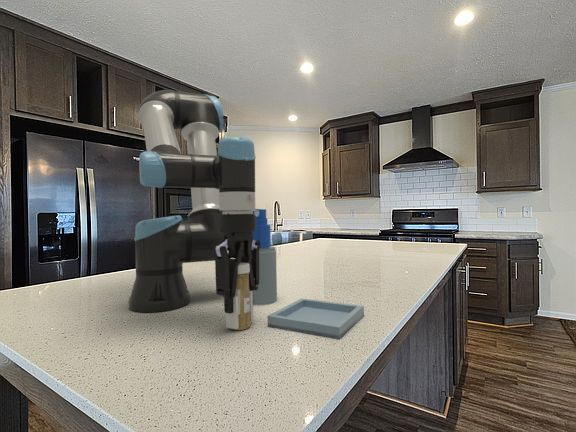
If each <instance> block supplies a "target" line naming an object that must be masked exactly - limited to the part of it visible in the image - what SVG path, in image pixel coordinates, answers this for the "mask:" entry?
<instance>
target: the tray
mask: <svg viewBox="0 0 576 432" xmlns="http://www.w3.org/2000/svg"><path fill="white" fill-rule="evenodd" d="M364 316H365V307H364V305H359V304H350V303H344V302H343V303H342V302H335V301H334V302H333V301H327V300H326V301H325V300H318V299H310V298H309V299H308V298H304V297H303V298H299V299H297V300H296V301H294V302H291V303H289V304H287V305H285V306H283V307H282V308H280V309H279V310H276V311H274V312H272V313H270V314H268V315H267V316H266V318H267V327H269V328H275V329H280V330H281V329H282V330H286V331H293V332H298V333H302V334H303V333H304V334H309V335H315V336H319V337H325V338H326V337H327V338H333V339H337V340H340V339H341V338H343V336H344V335H345V334H347V333H348V331H349V330H351V328H353V327H354V326H355V325H356V324H357V323H358V322H359V321H360V320H361V319H363V317H364Z"/></svg>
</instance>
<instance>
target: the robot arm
mask: <svg viewBox="0 0 576 432" xmlns="http://www.w3.org/2000/svg"><path fill="white" fill-rule="evenodd" d="M137 117H138V121H139V123H140V125H141V127H142V128H143V132H144V139H145V140H144V141H145V147H146V151H143V152H140V154H139V156H138V158H139V160H138V163H139V166H138V167H139V182H140V185H142V186H144V187H153V188H158V189H162V188H190V192H191V205H192V207H191V208H192V210H191V211H190V212H189V213H188V215H187V220H183V218H182V216H181V215H171V216H163V217H156V218H151V219H145V220H140V221H138V222H137V223H136V225H135V229H134V231H135V233H134V238H133V239H134V241H135V278H134V280H135V281H134V282H133V286H132V289H131V293H130V296H129V298H128V299H129V300H128V308H129V310H130V311H134V312H138V313H139V312H140V313H150V312H151V313H156V312H167V311H171V310H176V309H179V308H183V307H184V306H187V305H188V304H190V302H191V296H190V295H191V293H190V291H189V289H188V286H187V283H186V279H185V277H184V272H183V265H184V264H187V263H201V262H214V268H215V270H214V271H215V294H216V295H217V296H221V297H223V305H224V307H223V308H224V309H223V310H224V313H225V329H230V330H233V329H238V328H239V322H238V296H235V292H236V284H237V275H238V265H239V263H240V262H243V263H249V265H250V272H249V292H250V323H252V322H254V305H253V290H257V289H258V286H256V285H259V250H260V245H261V243H260V241H255V240H253V237H252V232H254V231H255V230H256V216H255V214H253V211H255V210H256V209H257V208H256V159H257V158H256V153H255V143H254V141H253V140H251V139H250V138H246V137H239V136H237V137H235V136H231V137H224V138H222V139H220V140H219V141H218V149H217V145H216V139H217V138H218V137H219V135H220V133H221V132H222V131H223V128H224V123H225V122H224V110H223V106H222V103H221V100H219V98H217V97H216V96H215V95H209V94H206V93H202V94H200V93H193V92H185V91H181V90H180V91H179V90H173V89H163V90H158V91H154V92H152V93H150V94H148V95H147V96H146V97H144V99H143V100H142V101H141V102H140V103H139V106H138V109H137ZM176 130H177V131H180V134H181V137H182V139H184V140H185V141H186V145H187V153H182V152H181V148H180V145H179V142H178V137H177V135H176V134H177V133H176V132H175V131H176ZM254 279H255V280H254Z"/></svg>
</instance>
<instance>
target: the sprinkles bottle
mask: <svg viewBox="0 0 576 432" xmlns="http://www.w3.org/2000/svg"><path fill="white" fill-rule="evenodd" d="M249 272H250V265H249V263H243V262H240V263H239V265H238V275H237V284H236V292H235V296H238V322H239V328H238V329H232V330H234V331H245V330H247V329H249V328H250V327H251V323H252V322H250V292H249Z"/></svg>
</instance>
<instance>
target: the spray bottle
mask: <svg viewBox="0 0 576 432" xmlns="http://www.w3.org/2000/svg"><path fill="white" fill-rule="evenodd" d="M253 214H255V216H256V230H255V231H254V232H252V237H253V240H255V241H260V243H261V245H260V250H259V285H256V286H258V289H257V290H253V306H254V305H255V306H259V305H260V306H261V305H262V306H264V305H270V304H273V303H276V302H277V301H278V290H277V288H278V285H277V283H278V281H277V280H278V279H277V250H276V246H272V244H271V243H272V241H271V240H272V237H271V224H269V223H268V218H267V209H263V208H262V209H261V208H256V210H255V211H253ZM254 280H255V279H254Z"/></svg>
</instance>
